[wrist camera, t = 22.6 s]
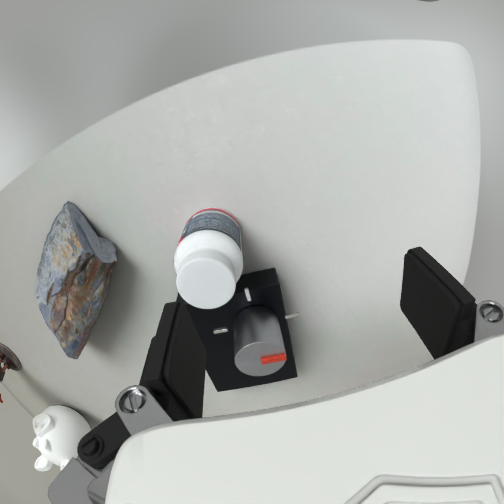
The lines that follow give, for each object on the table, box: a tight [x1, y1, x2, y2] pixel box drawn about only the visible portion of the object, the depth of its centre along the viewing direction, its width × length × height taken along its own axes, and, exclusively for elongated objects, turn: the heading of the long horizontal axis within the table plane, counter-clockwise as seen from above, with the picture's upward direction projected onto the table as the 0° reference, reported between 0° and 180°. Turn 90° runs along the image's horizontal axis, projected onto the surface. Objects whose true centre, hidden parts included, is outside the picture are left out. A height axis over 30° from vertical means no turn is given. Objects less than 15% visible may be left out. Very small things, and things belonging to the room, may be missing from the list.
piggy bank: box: [33, 405, 91, 472], centre depth 33 cm, size 12×12×15 cm
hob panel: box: [176, 268, 299, 392], centre depth 30 cm, size 14×11×3 cm
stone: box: [36, 201, 117, 359], centre depth 26 cm, size 17×5×10 cm
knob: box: [234, 306, 287, 376], centre depth 25 cm, size 4×4×5 cm
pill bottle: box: [174, 207, 243, 309], centre depth 23 cm, size 5×5×9 cm
